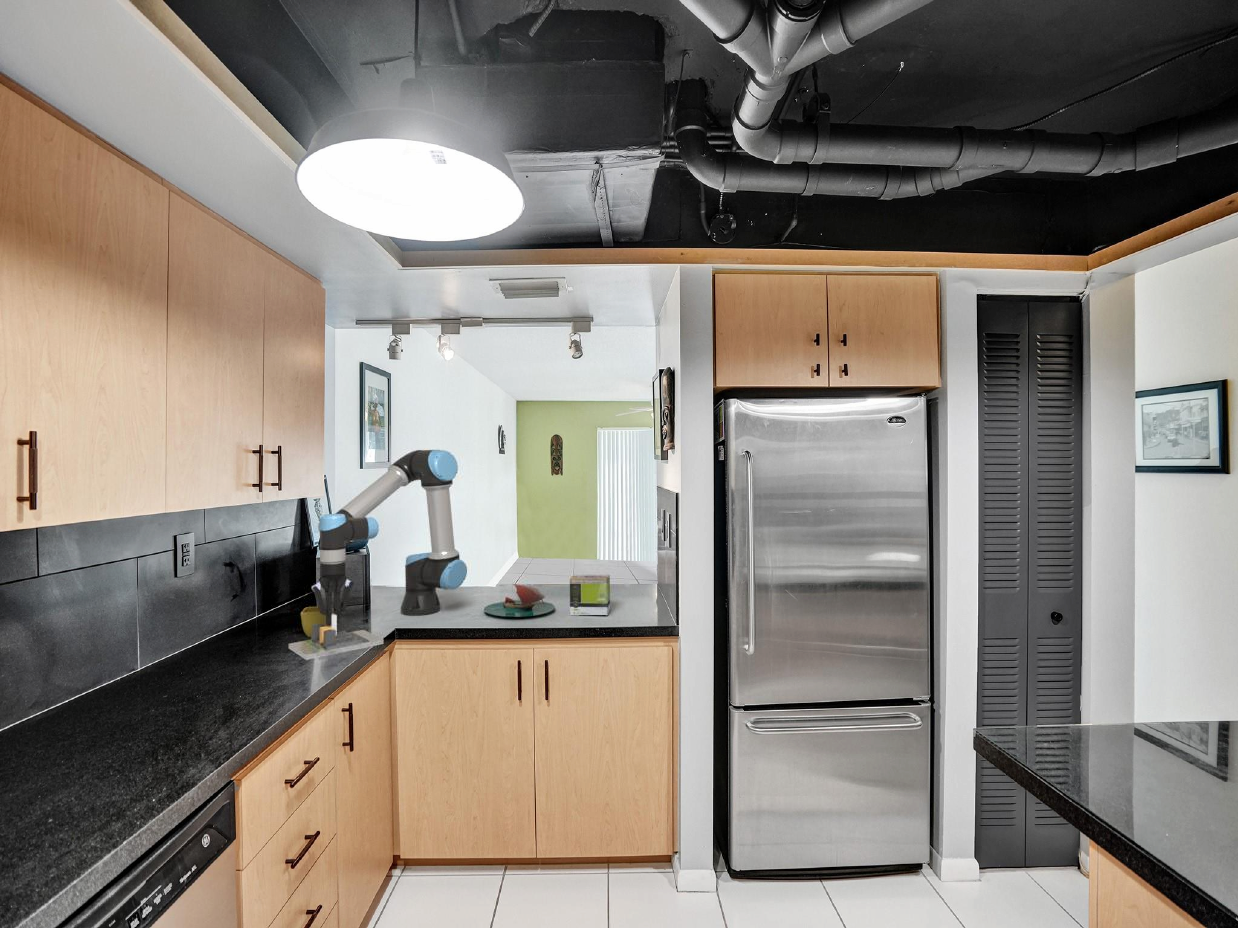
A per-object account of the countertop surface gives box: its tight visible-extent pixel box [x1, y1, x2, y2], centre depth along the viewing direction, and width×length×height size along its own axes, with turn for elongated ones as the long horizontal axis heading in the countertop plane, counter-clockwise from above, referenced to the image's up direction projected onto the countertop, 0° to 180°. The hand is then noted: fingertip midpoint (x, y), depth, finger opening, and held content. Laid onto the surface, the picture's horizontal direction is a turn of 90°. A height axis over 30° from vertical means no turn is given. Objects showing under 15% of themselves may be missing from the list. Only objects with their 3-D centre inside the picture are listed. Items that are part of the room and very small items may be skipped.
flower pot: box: [300, 605, 334, 638], centre depth 217 cm, size 9×9×9 cm
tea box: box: [569, 574, 611, 616], centre depth 249 cm, size 15×10×15 cm
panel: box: [288, 629, 384, 661], centre depth 204 cm, size 24×16×2 cm, turn 135°
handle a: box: [312, 623, 324, 641], centre depth 205 cm, size 3×2×5 cm, turn 134°
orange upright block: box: [320, 626, 332, 644], centre depth 202 cm, size 3×2×5 cm, turn 134°
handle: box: [324, 629, 336, 648], centre depth 198 cm, size 3×2×5 cm, turn 134°
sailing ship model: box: [483, 583, 556, 618], centre depth 251 cm, size 28×28×11 cm
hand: (332, 634), depth 203 cm, fingers closed
